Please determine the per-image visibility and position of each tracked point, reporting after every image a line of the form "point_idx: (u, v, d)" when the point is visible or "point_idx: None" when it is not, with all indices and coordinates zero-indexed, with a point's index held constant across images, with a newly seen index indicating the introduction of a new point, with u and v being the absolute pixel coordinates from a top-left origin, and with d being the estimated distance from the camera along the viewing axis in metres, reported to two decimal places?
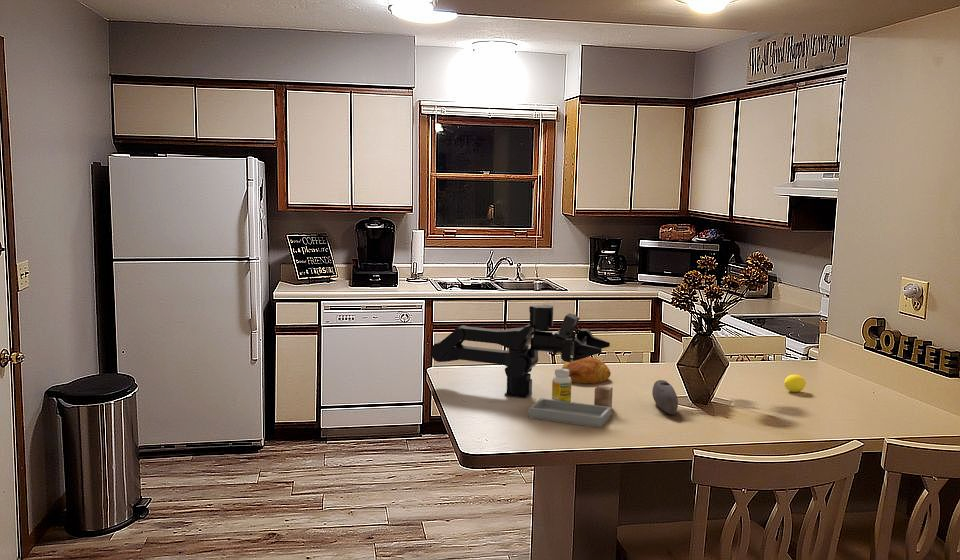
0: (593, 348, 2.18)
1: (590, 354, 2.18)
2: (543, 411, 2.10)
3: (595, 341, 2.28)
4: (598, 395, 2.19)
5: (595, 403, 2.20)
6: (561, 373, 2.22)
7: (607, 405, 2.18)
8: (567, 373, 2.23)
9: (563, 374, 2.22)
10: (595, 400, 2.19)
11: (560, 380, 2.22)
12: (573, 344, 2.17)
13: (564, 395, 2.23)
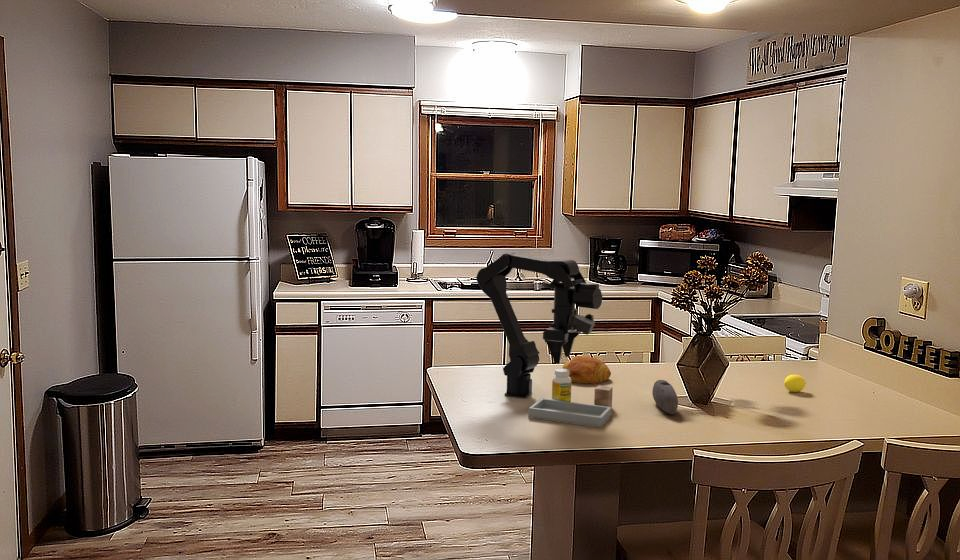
0: (559, 357, 2.19)
1: (553, 354, 2.19)
2: (543, 411, 2.10)
3: (569, 342, 2.28)
4: (598, 395, 2.19)
5: (595, 403, 2.20)
6: (561, 373, 2.22)
7: (607, 405, 2.18)
8: (567, 373, 2.23)
9: (563, 374, 2.22)
10: (595, 400, 2.19)
11: (560, 380, 2.22)
12: (560, 341, 2.15)
13: (564, 395, 2.23)
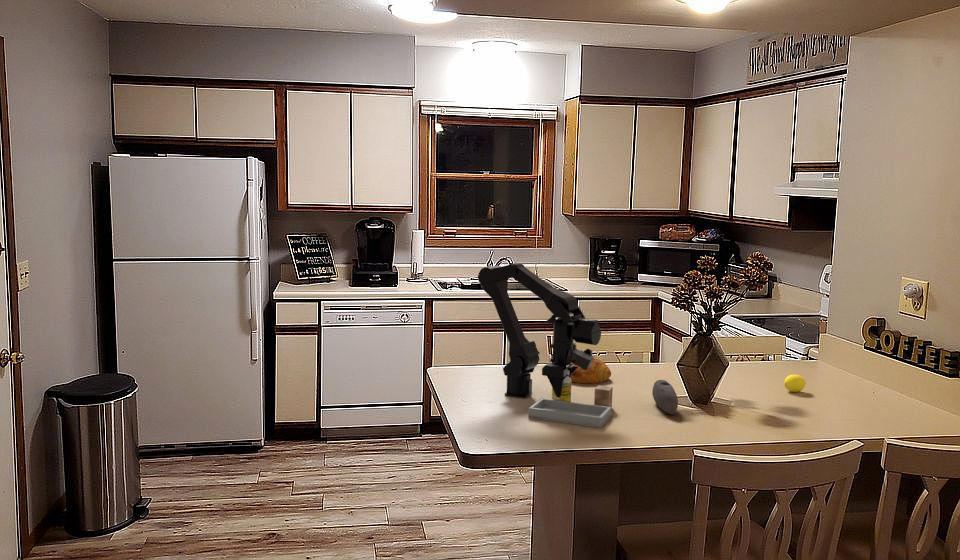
0: (560, 390, 2.21)
1: (553, 387, 2.22)
2: (543, 411, 2.10)
3: None
4: (598, 395, 2.19)
5: (595, 403, 2.20)
6: None
7: (607, 405, 2.18)
8: (567, 373, 2.23)
9: None
10: (595, 400, 2.19)
11: None
12: None
13: (564, 395, 2.23)
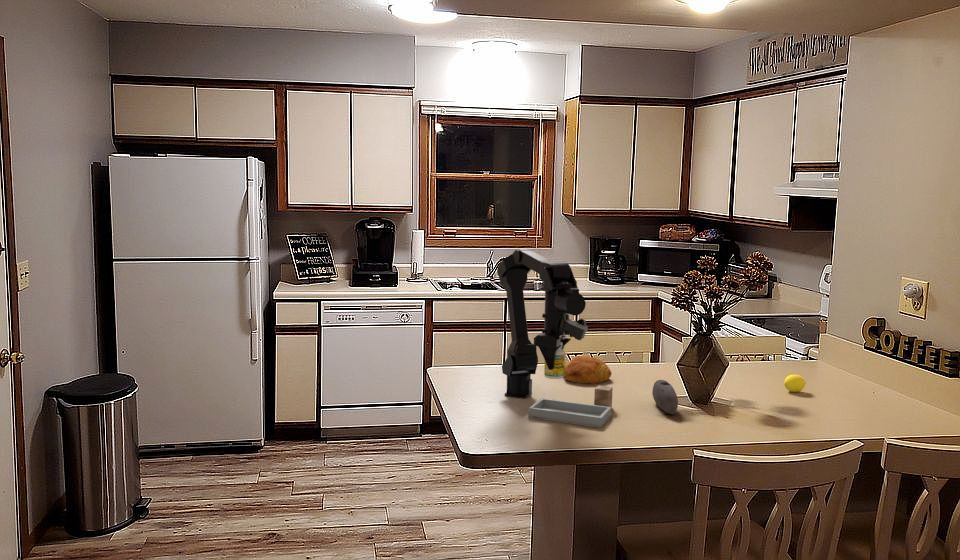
0: (552, 362, 2.10)
1: (546, 359, 2.11)
2: (543, 411, 2.10)
3: None
4: (598, 395, 2.19)
5: (595, 403, 2.20)
6: None
7: (607, 405, 2.18)
8: None
9: None
10: (595, 400, 2.19)
11: None
12: None
13: (557, 368, 2.12)
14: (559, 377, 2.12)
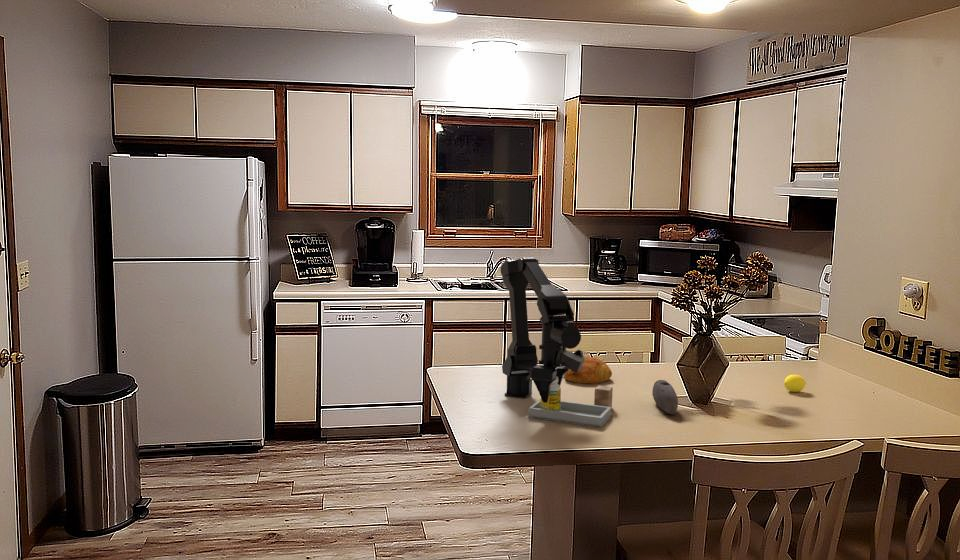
0: (546, 395, 2.09)
1: (540, 392, 2.09)
2: (543, 411, 2.10)
3: None
4: (598, 395, 2.19)
5: (595, 403, 2.19)
6: None
7: (607, 405, 2.18)
8: (556, 380, 2.12)
9: None
10: (595, 400, 2.19)
11: None
12: (548, 380, 2.05)
13: (553, 403, 2.12)
14: None
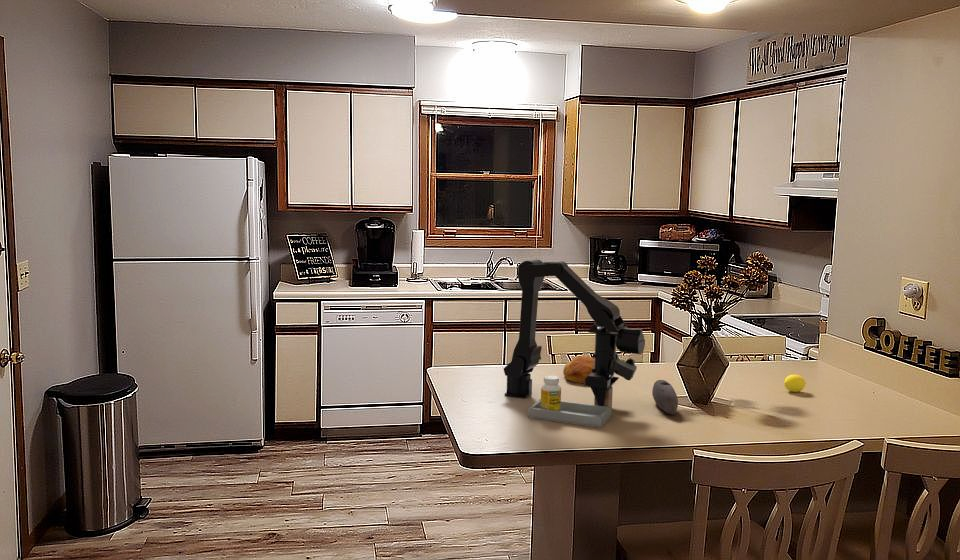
0: (602, 400, 2.18)
1: (596, 397, 2.18)
2: (543, 411, 2.10)
3: None
4: None
5: (595, 403, 2.19)
6: (550, 380, 2.12)
7: (607, 405, 2.18)
8: (556, 380, 2.12)
9: (552, 381, 2.12)
10: (595, 400, 2.19)
11: (549, 388, 2.11)
12: None
13: (553, 404, 2.12)
14: None
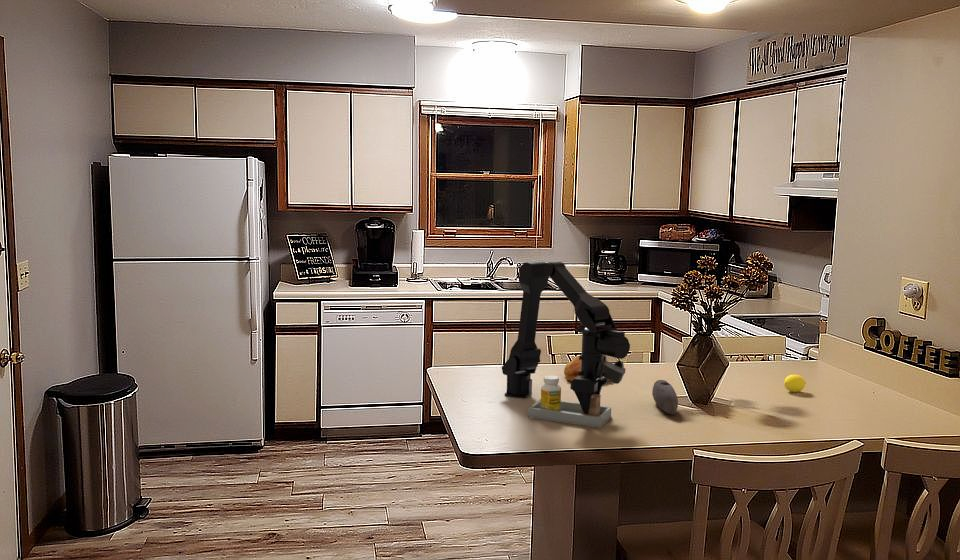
0: (588, 407, 2.05)
1: (581, 403, 2.06)
2: (543, 411, 2.10)
3: (596, 390, 2.14)
4: None
5: (582, 411, 2.09)
6: (550, 380, 2.12)
7: (594, 414, 2.08)
8: (556, 380, 2.12)
9: (552, 381, 2.12)
10: None
11: (549, 388, 2.11)
12: None
13: (553, 404, 2.12)
14: None
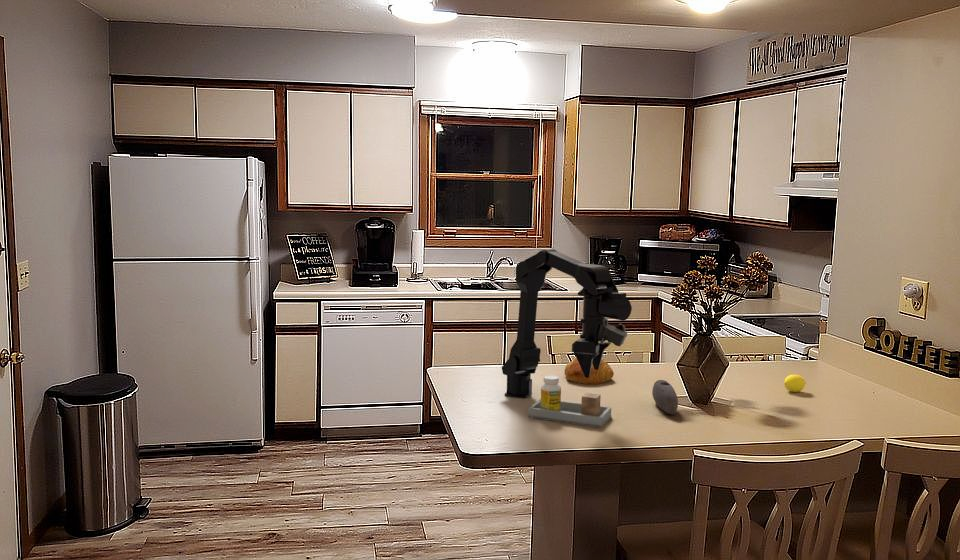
0: (589, 370, 2.04)
1: (582, 367, 2.04)
2: (543, 411, 2.10)
3: (598, 354, 2.13)
4: (585, 403, 2.09)
5: (582, 411, 2.09)
6: (550, 380, 2.12)
7: (594, 414, 2.08)
8: (556, 380, 2.12)
9: (552, 381, 2.12)
10: (582, 408, 2.09)
11: (548, 388, 2.11)
12: (591, 354, 2.00)
13: (553, 404, 2.12)
14: None
